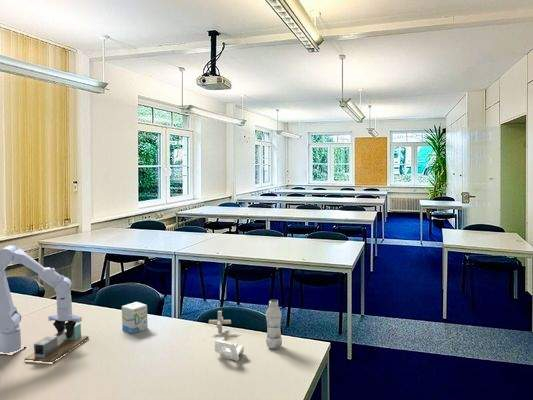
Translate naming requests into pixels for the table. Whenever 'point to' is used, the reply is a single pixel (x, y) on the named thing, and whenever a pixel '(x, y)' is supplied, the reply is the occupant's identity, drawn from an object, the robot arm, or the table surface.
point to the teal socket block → (76, 332)
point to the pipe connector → (219, 322)
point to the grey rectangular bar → (61, 336)
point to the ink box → (134, 317)
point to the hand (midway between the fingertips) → (65, 337)
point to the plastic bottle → (273, 325)
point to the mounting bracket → (228, 349)
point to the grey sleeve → (45, 347)
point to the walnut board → (60, 349)
